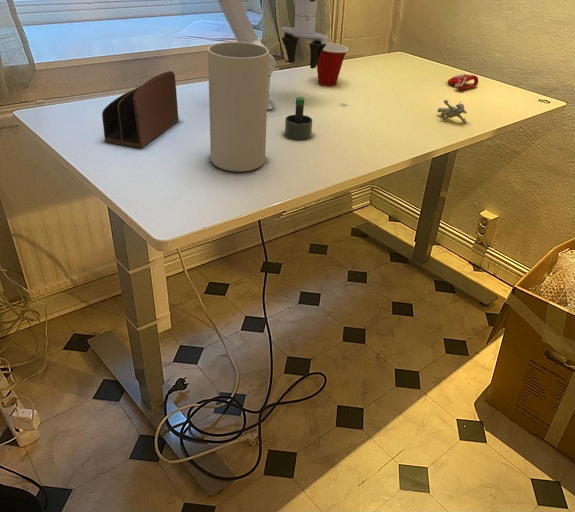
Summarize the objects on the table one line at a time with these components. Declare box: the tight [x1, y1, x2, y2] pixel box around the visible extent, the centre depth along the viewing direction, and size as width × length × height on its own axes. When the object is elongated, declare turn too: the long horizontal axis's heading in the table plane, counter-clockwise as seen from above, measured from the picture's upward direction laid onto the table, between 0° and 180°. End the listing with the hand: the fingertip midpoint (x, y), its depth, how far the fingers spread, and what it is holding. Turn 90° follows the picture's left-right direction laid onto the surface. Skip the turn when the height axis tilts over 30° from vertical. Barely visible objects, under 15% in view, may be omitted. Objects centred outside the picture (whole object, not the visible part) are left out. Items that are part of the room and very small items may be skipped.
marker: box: [294, 96, 306, 124], centre depth 140 cm, size 2×2×9 cm
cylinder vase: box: [207, 41, 270, 173], centre depth 121 cm, size 12×12×25 cm
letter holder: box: [101, 70, 180, 149], centre depth 136 cm, size 10×20×14 cm, turn 163°
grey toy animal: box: [437, 99, 468, 124], centre depth 156 cm, size 10×6×9 cm
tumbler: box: [284, 114, 313, 141], centre depth 142 cm, size 7×7×4 cm
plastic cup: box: [316, 41, 349, 87], centre depth 177 cm, size 11×11×12 cm
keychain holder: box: [447, 73, 479, 90], centre depth 184 cm, size 12×4×10 cm
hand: (302, 64), depth 161 cm, fingers open, 7 cm apart
